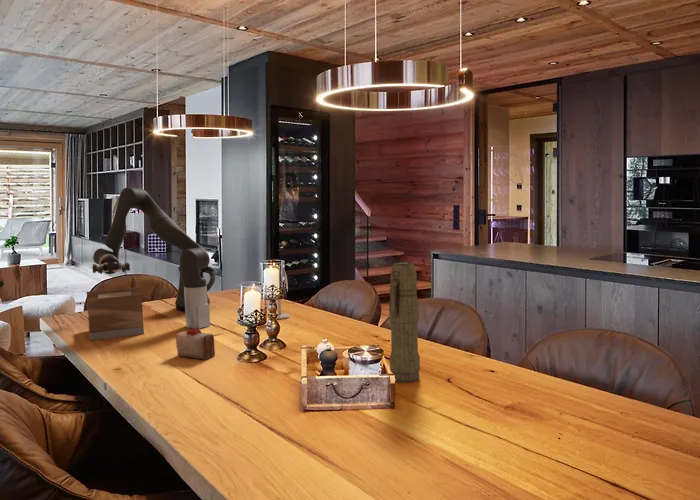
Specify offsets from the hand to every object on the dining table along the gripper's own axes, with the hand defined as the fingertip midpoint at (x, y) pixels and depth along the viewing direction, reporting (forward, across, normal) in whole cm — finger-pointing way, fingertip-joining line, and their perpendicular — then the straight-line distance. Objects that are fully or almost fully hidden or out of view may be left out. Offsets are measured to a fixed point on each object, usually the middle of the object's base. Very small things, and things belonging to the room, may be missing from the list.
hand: (112, 270), depth 235 cm
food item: (+51, +22, +23) cm, 60 cm away
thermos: (+108, +72, +19) cm, 131 cm away
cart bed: (-1, 0, +26) cm, 26 cm away
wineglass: (+10, +68, +24) cm, 73 cm away
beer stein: (-32, +40, +27) cm, 57 cm away
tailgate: (+8, 0, +22) cm, 24 cm away
